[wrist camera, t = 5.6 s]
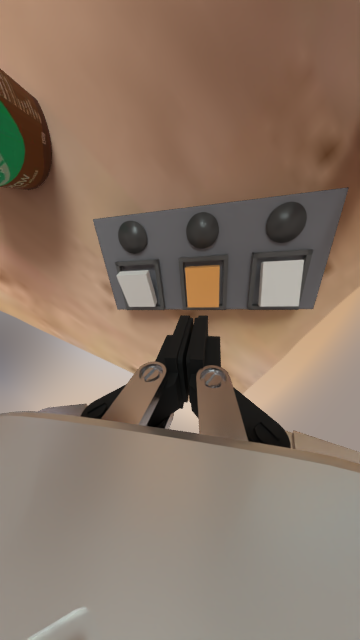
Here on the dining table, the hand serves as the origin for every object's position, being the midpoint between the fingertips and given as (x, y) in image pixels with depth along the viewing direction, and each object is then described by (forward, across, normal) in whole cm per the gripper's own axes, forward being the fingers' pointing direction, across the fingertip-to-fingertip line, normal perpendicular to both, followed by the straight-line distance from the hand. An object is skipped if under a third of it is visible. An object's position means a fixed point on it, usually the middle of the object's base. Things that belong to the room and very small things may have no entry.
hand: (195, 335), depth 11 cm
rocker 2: (+8, -7, -1) cm, 11 cm away
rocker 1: (+8, +7, -1) cm, 11 cm away
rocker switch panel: (+12, 0, -3) cm, 12 cm away
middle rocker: (+8, 0, -1) cm, 8 cm away
